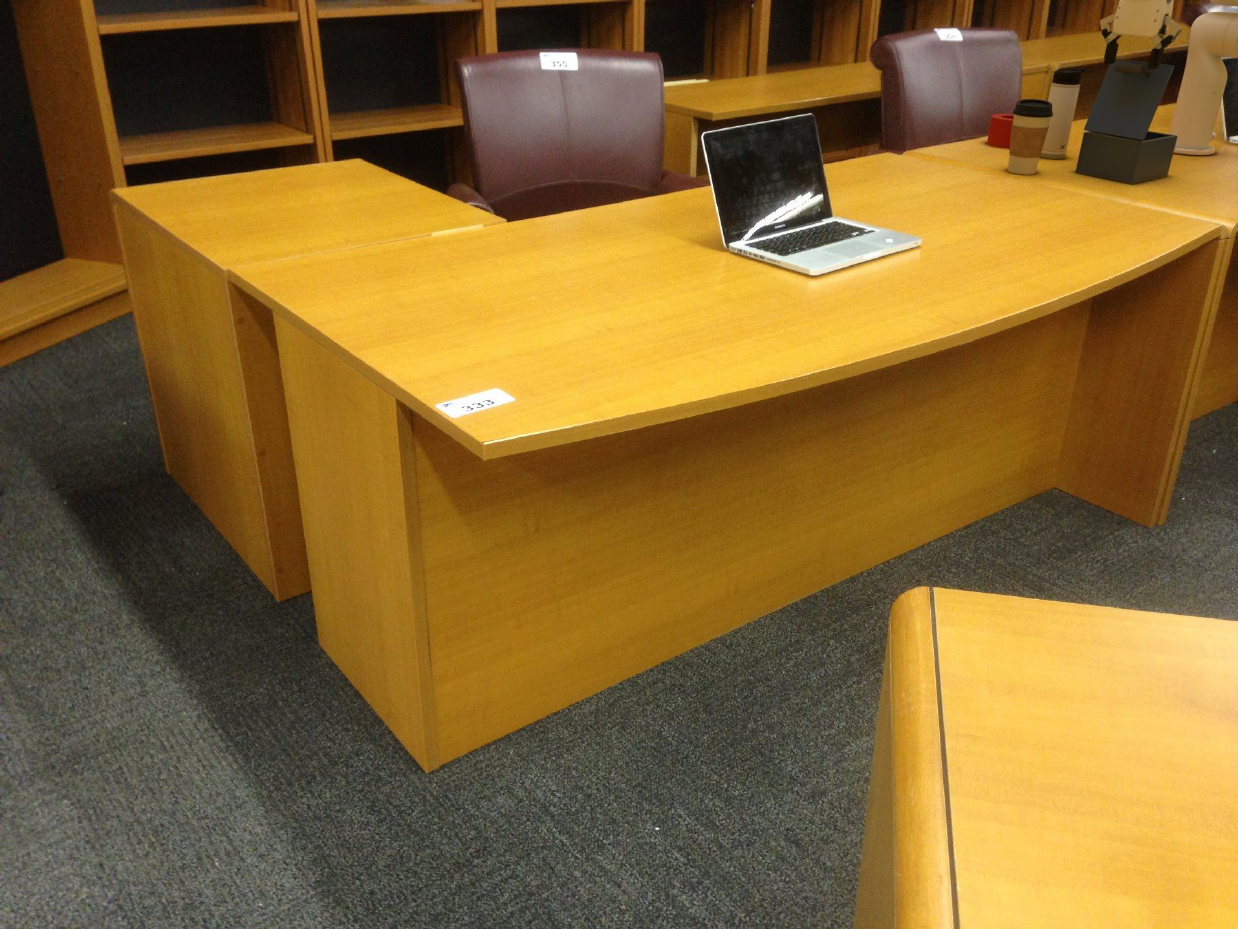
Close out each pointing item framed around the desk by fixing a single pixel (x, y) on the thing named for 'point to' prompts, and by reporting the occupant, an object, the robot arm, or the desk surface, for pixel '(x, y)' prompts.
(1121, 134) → the lid
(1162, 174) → the dark grey hollow box
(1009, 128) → the lever
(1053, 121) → the travel mug
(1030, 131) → the coffee cup
